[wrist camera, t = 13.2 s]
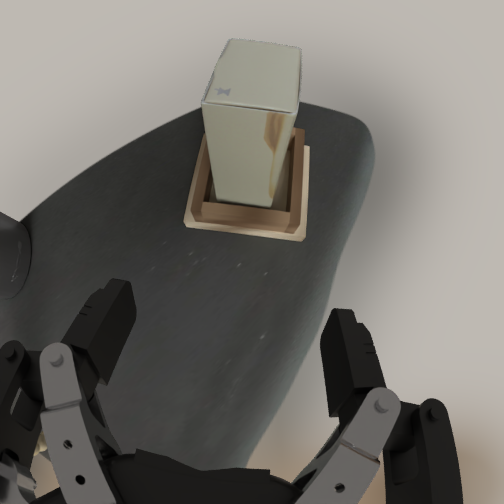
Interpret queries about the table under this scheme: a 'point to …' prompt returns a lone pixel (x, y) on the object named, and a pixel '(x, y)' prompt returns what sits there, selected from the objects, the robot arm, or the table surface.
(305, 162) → the wooden tray
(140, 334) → the table surface
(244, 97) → the skincare box
